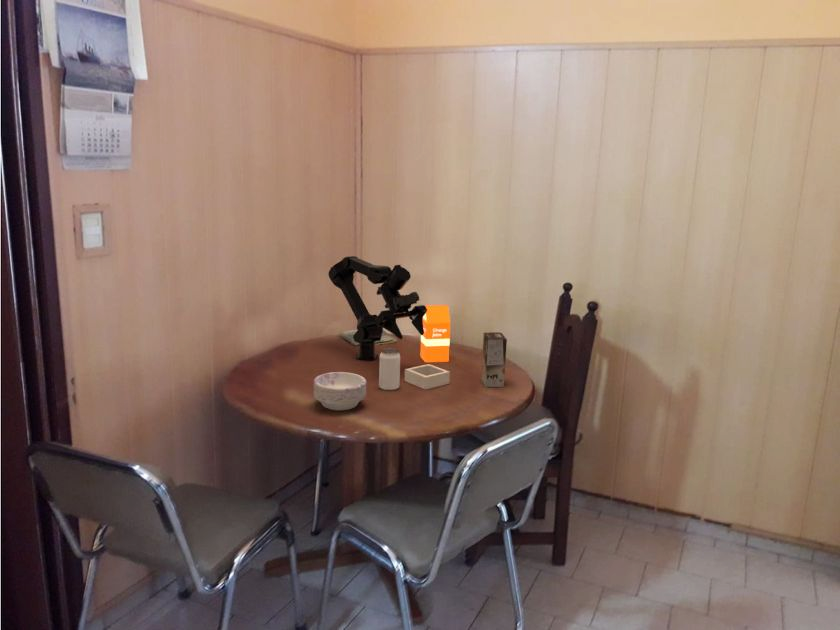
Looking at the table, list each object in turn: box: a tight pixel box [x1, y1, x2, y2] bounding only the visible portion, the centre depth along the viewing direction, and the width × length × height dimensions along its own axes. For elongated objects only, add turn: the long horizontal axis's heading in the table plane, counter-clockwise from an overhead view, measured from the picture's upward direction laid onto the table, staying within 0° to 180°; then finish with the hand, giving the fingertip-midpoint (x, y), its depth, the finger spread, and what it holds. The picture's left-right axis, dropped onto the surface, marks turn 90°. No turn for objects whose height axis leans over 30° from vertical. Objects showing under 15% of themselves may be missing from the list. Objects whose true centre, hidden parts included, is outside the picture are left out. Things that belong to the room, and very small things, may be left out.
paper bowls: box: [313, 371, 367, 412], centre depth 200 cm, size 15×15×8 cm
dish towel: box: [338, 329, 398, 348], centre depth 273 cm, size 19×18×3 cm
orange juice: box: [419, 304, 451, 363], centre depth 248 cm, size 8×9×20 cm
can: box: [378, 348, 401, 391], centre depth 216 cm, size 6×6×12 cm
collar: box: [404, 363, 451, 390], centre depth 224 cm, size 10×10×4 cm
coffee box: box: [480, 331, 508, 388], centre depth 224 cm, size 9×6×16 cm
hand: (412, 336), depth 227 cm, fingers open, 9 cm apart
